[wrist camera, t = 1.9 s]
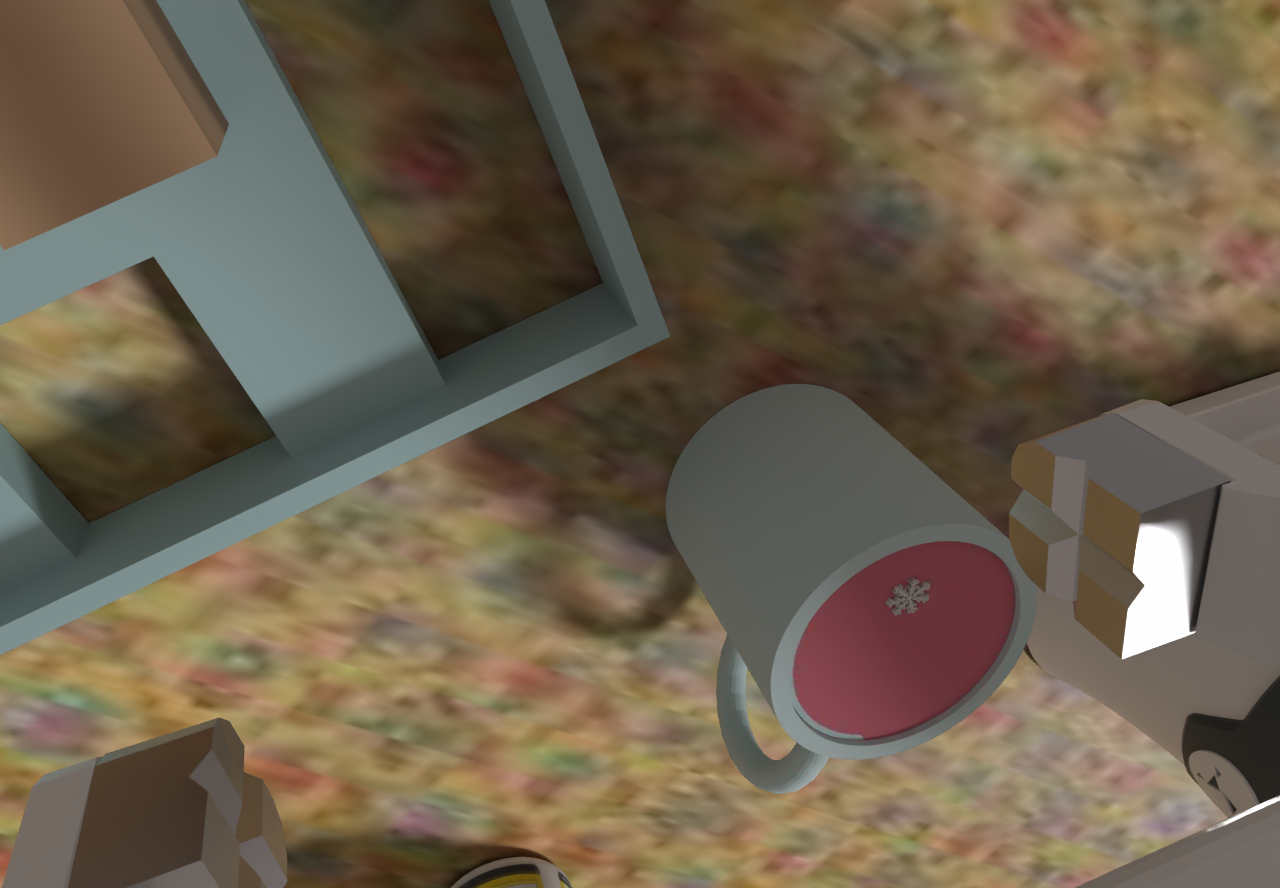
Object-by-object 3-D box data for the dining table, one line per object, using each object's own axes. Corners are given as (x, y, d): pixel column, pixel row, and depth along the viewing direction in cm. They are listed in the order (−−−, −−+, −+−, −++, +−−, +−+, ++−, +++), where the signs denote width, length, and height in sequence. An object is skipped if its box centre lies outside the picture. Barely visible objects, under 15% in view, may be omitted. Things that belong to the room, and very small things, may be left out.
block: (106, -84, 22) (71, -85, 19) (229, 124, 25) (217, 156, 21) (-102, 2, 22) (-176, 18, 18) (45, 204, 24) (4, 250, 21)
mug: (721, 358, 35) (854, 498, 26) (917, 413, 39) (1087, 550, 30) (591, 656, 39) (668, 855, 31) (777, 678, 43) (890, 860, 35)
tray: (379, -361, 23) (392, -409, 19) (632, 293, 32) (670, 336, 29) (-725, 84, 21) (-924, 116, 17) (-103, 638, 30) (-154, 728, 27)
